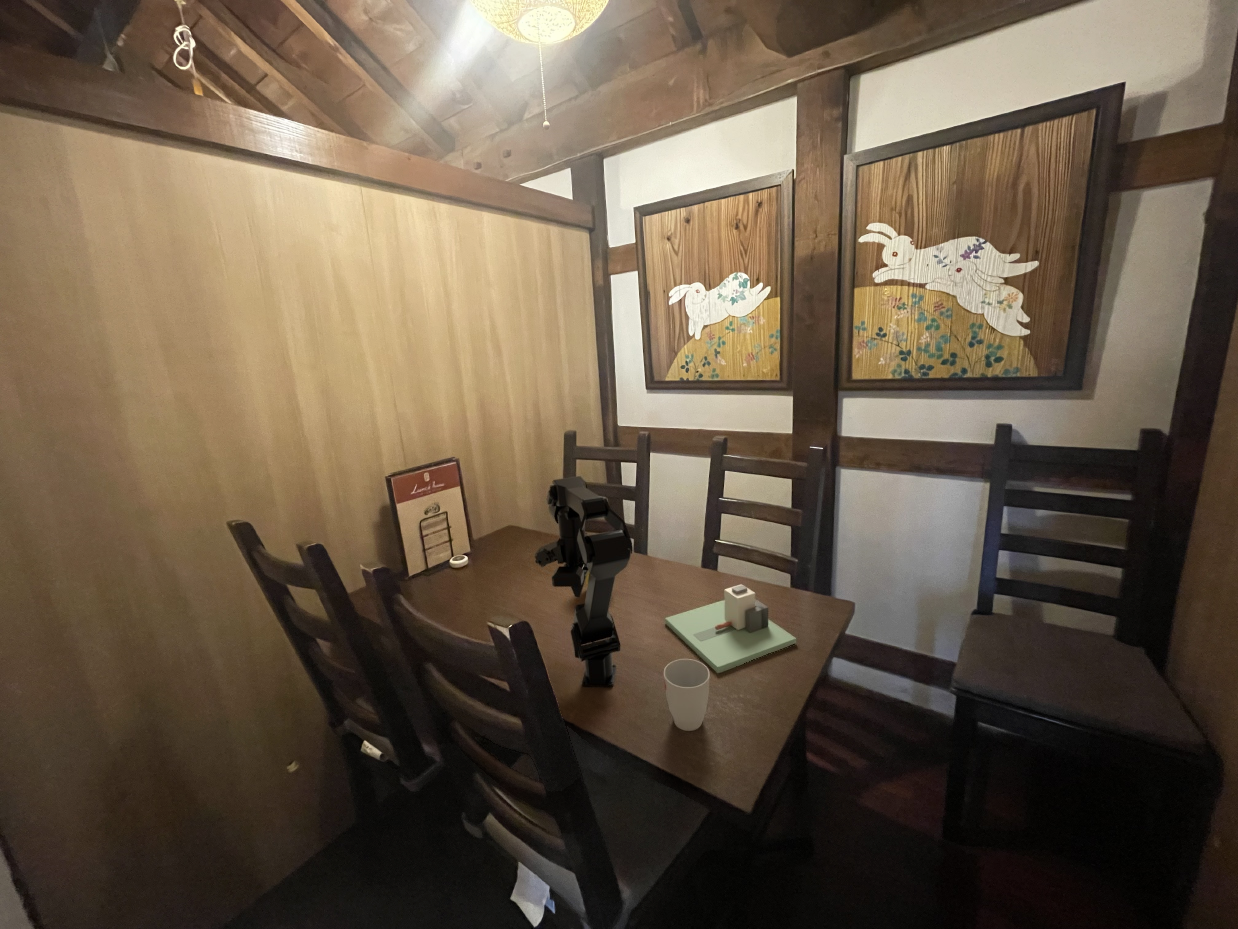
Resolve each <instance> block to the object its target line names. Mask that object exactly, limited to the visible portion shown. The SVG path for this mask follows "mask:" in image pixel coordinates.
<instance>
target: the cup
mask: <svg viewBox="0 0 1238 929" xmlns="http://www.w3.org/2000/svg"><path fill="white" fill-rule="evenodd" d="M663 680H664V689H665V696H666V700H667V701H666V702H667V703H668V709H669V712H670V715H671V717H672V720H673V722H674V725H675V726H676V727H677V728H678V729H680V730H683V731H685V732H687V731H688V732H690V731H691V732H692V731H696V730H697V729H699V728H701V726H702V724H703V721H704V717H705V715H706V713H707V706H708V702H709V697H710V696H709V695H710V670H709V668H708V666H706V665H705V664H704V663H703V662H701V661H699V660H696V659H690V658H679V659H676V660H673V661H671V662H669V663H668V664H667V665H666V666H665V667H664V669H663Z"/></svg>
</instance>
